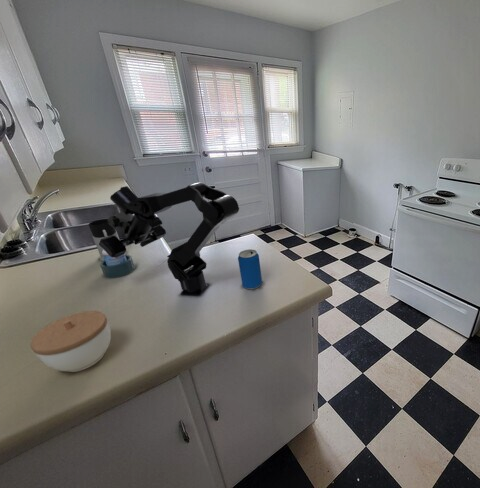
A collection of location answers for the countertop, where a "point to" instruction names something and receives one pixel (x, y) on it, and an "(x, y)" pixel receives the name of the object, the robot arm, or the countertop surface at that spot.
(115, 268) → the bottle holder
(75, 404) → the countertop surface
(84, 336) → the lidded bowl
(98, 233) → the glass holder
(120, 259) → the pill bottle
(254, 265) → the beverage can
